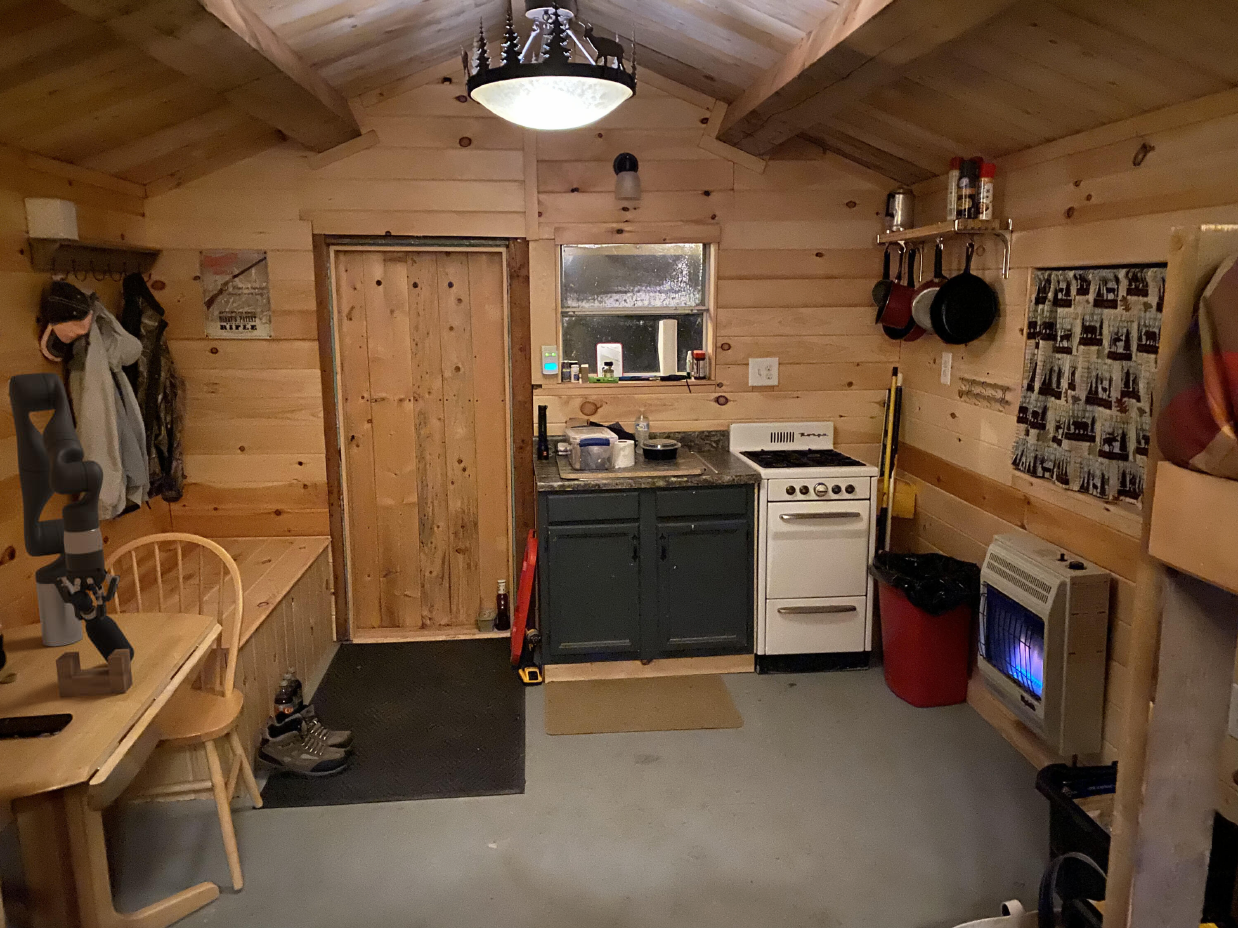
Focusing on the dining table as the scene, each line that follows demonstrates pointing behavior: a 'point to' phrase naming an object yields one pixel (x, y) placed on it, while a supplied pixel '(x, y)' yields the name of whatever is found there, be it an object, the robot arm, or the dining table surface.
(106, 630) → the black bottle
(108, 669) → the walnut U-rest
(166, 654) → the dining table surface
